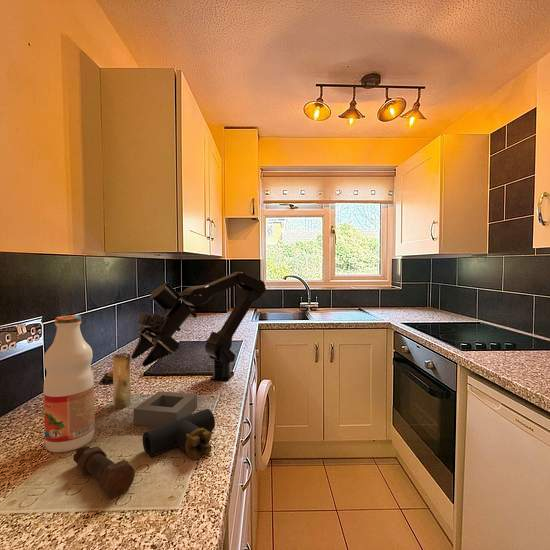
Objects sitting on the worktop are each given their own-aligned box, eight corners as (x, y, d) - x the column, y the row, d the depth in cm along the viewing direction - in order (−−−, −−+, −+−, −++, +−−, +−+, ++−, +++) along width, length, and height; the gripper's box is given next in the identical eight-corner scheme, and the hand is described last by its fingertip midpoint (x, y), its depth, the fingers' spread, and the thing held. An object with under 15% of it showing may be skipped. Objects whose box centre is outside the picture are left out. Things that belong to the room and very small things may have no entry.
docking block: (159, 405, 90) (158, 391, 90) (197, 408, 88) (196, 394, 88) (134, 424, 79) (133, 408, 79) (176, 429, 77) (176, 412, 77)
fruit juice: (94, 446, 69) (92, 318, 69) (41, 458, 65) (38, 321, 64) (95, 427, 78) (93, 312, 77) (48, 437, 73) (45, 315, 73)
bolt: (86, 470, 64) (125, 500, 56) (61, 469, 61) (99, 500, 52) (100, 439, 67) (140, 463, 58) (76, 436, 63) (115, 461, 54)
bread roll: (102, 377, 114) (102, 367, 114) (128, 374, 118) (128, 364, 117) (100, 388, 104) (99, 376, 104) (128, 383, 108) (128, 372, 108)
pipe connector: (231, 420, 71) (168, 448, 60) (232, 444, 71) (168, 476, 60) (202, 405, 79) (142, 427, 68) (203, 426, 79) (142, 452, 68)
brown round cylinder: (120, 400, 93) (119, 353, 92) (134, 402, 92) (133, 353, 92) (110, 407, 88) (109, 357, 88) (124, 408, 88) (123, 358, 87)
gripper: (144, 300, 103) (107, 339, 96) (168, 305, 89) (126, 352, 82) (168, 322, 108) (134, 360, 101) (194, 330, 94) (157, 375, 87)
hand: (137, 361), depth 93 cm, fingers open, 9 cm apart
